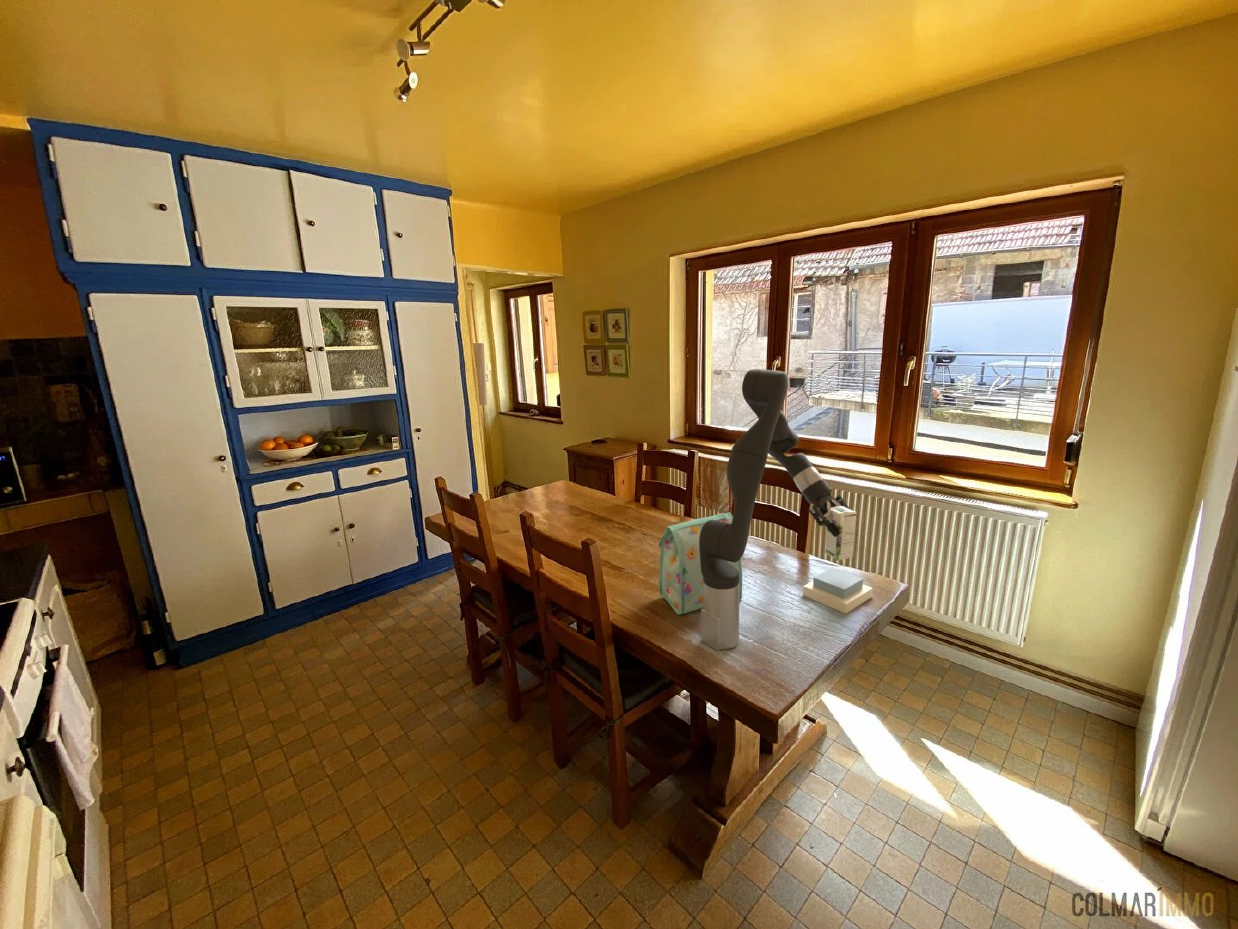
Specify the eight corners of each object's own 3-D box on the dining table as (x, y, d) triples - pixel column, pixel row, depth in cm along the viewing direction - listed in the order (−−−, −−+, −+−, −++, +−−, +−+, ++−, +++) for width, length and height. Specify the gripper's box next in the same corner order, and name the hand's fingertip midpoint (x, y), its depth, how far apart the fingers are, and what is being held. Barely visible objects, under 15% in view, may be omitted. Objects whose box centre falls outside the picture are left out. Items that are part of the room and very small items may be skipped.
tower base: (845, 613, 144) (847, 594, 142) (802, 594, 155) (803, 577, 153) (871, 597, 152) (873, 579, 150) (829, 580, 163) (830, 563, 161)
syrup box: (823, 553, 152) (826, 508, 148) (840, 550, 153) (843, 505, 150) (837, 561, 146) (840, 514, 143) (853, 557, 148) (857, 511, 144)
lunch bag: (718, 579, 167) (717, 502, 161) (747, 602, 153) (748, 518, 146) (655, 595, 160) (652, 515, 153) (680, 621, 145) (677, 533, 138)
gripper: (805, 483, 146) (840, 532, 140) (834, 473, 154) (868, 519, 148) (789, 496, 152) (822, 544, 145) (817, 486, 160) (850, 531, 153)
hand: (845, 531), depth 147 cm, fingers closed on syrup box, 7 cm apart
